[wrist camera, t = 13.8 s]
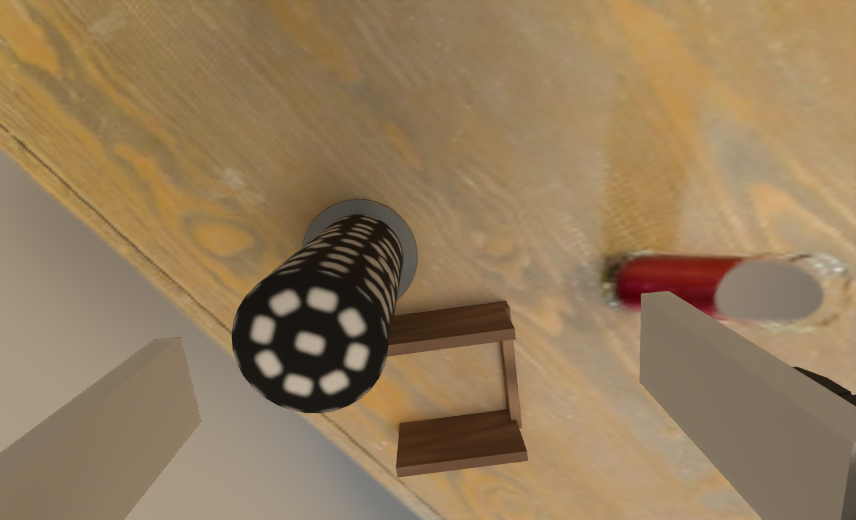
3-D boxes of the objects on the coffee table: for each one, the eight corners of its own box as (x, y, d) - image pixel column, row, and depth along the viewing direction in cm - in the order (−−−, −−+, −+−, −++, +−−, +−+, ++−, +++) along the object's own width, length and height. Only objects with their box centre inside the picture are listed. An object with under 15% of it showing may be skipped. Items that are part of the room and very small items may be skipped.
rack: (381, 317, 46) (374, 347, 40) (505, 301, 46) (520, 327, 39) (401, 431, 49) (397, 477, 43) (518, 416, 49) (533, 460, 42)
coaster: (292, 208, 44) (291, 208, 43) (408, 191, 43) (408, 192, 43) (315, 317, 46) (314, 319, 46) (424, 302, 46) (424, 304, 45)
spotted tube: (306, 284, 45) (217, 389, 25) (328, 202, 43) (250, 248, 24) (389, 309, 45) (363, 430, 26) (414, 229, 44) (407, 295, 24)
